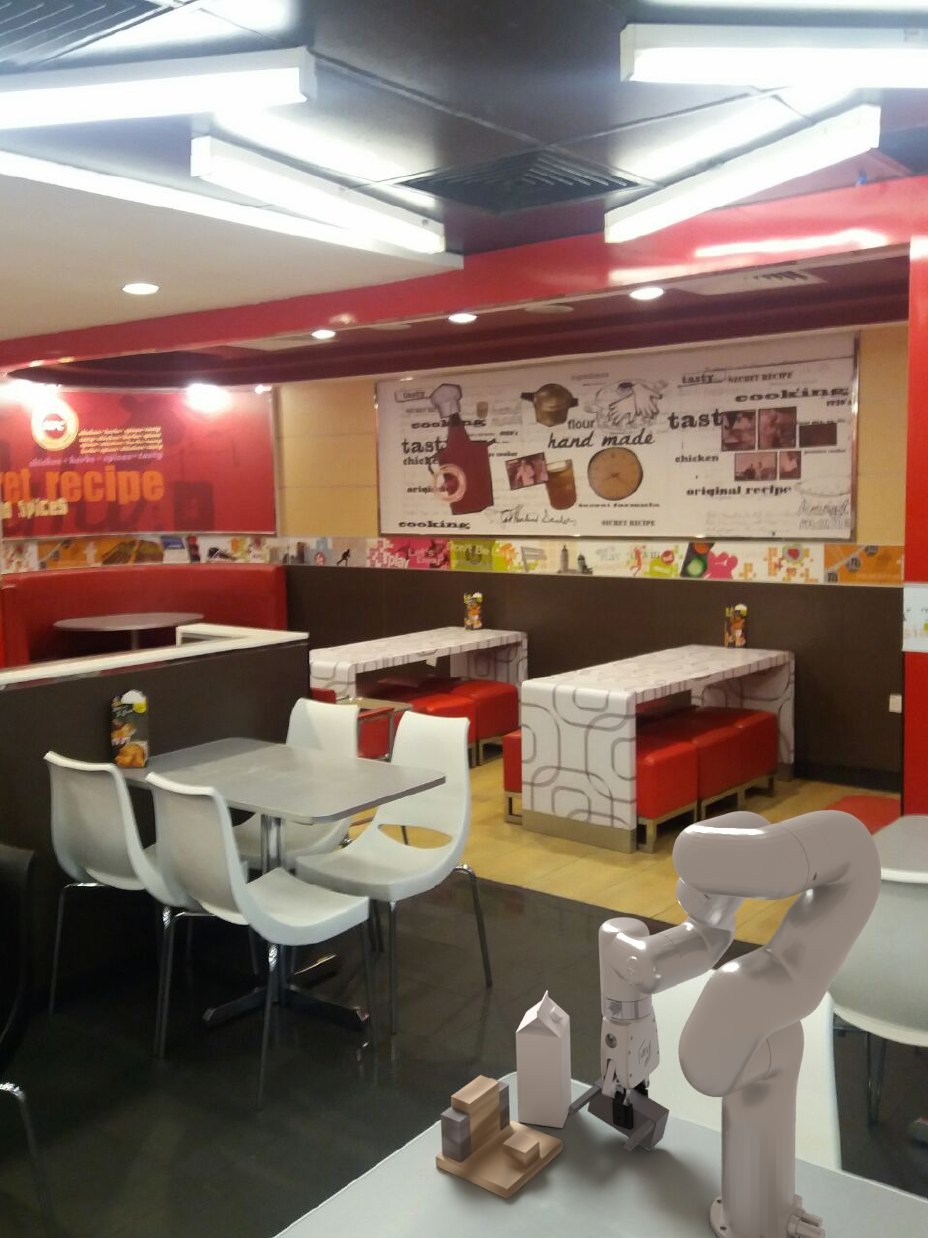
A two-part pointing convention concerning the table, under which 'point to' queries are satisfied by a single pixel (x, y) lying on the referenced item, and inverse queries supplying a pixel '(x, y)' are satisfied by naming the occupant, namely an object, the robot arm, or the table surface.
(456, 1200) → the table surface
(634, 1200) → the table surface
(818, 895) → the robot arm
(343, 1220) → the table surface
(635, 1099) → the grey bracket
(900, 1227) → the table surface
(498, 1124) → the stacked wooden blocks
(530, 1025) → the milk carton
